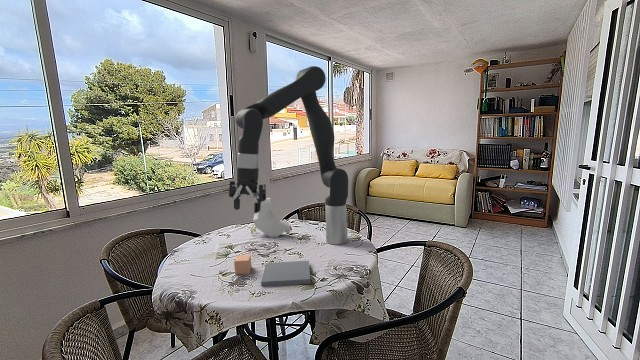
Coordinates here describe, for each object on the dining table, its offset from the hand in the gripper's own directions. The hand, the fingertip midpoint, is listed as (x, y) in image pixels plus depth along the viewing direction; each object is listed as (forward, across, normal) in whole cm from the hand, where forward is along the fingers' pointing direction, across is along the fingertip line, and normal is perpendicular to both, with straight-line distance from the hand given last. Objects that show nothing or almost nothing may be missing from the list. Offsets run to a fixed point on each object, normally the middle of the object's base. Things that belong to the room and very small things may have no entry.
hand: (246, 210), depth 108 cm
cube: (+22, 0, +2) cm, 22 cm away
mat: (+21, -17, -1) cm, 27 cm away
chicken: (+20, +9, -34) cm, 40 cm away
